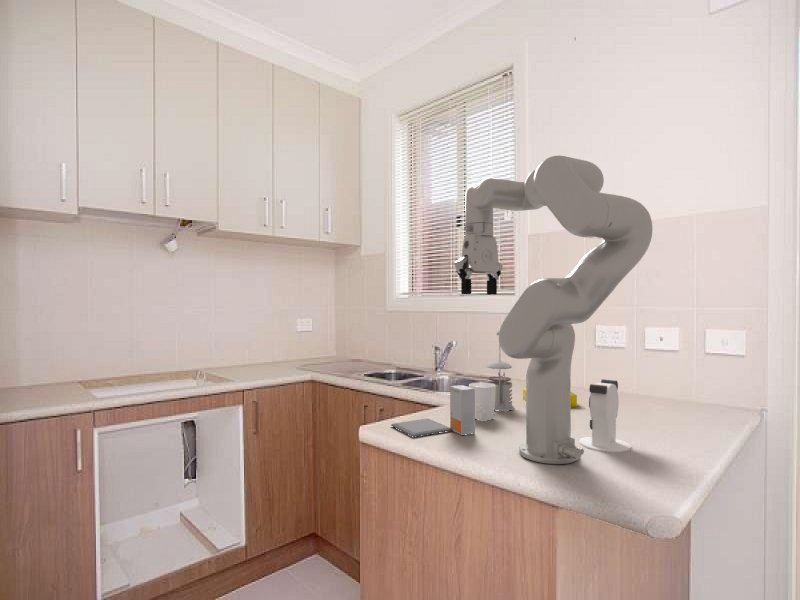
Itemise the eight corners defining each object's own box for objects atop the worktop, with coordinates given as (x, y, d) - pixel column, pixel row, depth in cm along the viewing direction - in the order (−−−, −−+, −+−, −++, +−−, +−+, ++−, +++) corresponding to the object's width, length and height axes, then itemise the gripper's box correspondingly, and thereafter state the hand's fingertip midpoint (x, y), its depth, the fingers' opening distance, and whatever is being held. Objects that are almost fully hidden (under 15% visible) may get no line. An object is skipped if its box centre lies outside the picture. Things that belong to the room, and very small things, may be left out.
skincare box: (449, 430, 121) (449, 385, 121) (463, 428, 123) (462, 384, 123) (461, 436, 116) (461, 389, 116) (475, 434, 117) (475, 388, 118)
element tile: (579, 408, 148) (578, 394, 148) (533, 408, 148) (533, 394, 148) (563, 399, 163) (563, 385, 163) (521, 399, 163) (521, 385, 163)
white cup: (465, 419, 132) (465, 385, 132) (473, 414, 139) (473, 381, 139) (491, 423, 129) (491, 388, 129) (499, 416, 136) (498, 383, 136)
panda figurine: (588, 434, 117) (587, 376, 117) (636, 443, 110) (636, 381, 110) (572, 445, 108) (572, 383, 108) (624, 455, 101) (623, 388, 101)
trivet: (451, 431, 120) (451, 428, 120) (413, 437, 114) (413, 434, 114) (427, 421, 131) (427, 418, 131) (391, 426, 125) (391, 423, 125)
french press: (512, 404, 152) (512, 330, 152) (518, 413, 140) (518, 332, 140) (483, 404, 153) (483, 330, 153) (486, 412, 141) (486, 332, 141)
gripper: (465, 226, 115) (465, 293, 115) (511, 232, 125) (511, 294, 125) (446, 230, 121) (446, 294, 121) (491, 236, 131) (491, 294, 131)
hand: (479, 294), depth 123 cm, fingers open, 9 cm apart
